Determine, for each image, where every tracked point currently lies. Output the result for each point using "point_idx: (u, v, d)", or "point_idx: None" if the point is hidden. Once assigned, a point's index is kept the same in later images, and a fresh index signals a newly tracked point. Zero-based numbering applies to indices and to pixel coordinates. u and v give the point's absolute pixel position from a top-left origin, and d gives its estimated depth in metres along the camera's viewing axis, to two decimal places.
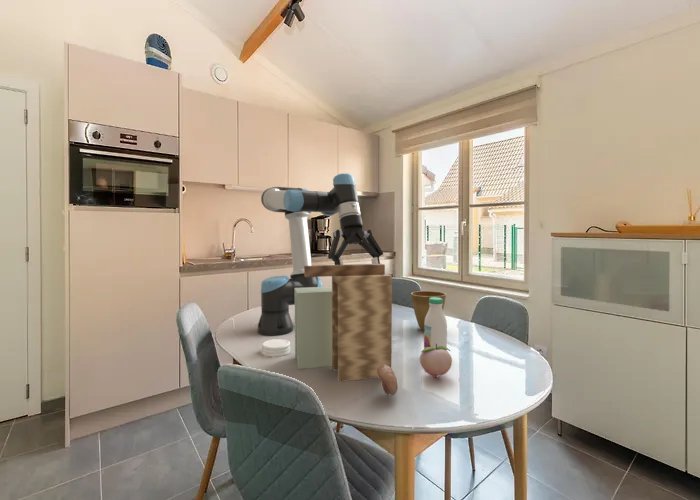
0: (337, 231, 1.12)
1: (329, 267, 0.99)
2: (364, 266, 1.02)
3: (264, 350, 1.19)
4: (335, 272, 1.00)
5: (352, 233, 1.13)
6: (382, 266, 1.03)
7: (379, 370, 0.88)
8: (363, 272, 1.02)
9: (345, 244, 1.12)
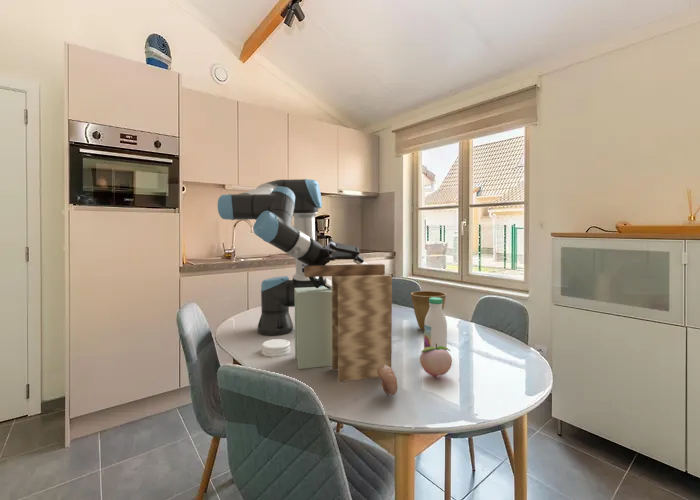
0: (303, 271, 1.06)
1: (329, 267, 0.99)
2: (364, 266, 1.02)
3: (264, 350, 1.19)
4: (335, 272, 1.00)
5: (316, 264, 1.03)
6: (382, 266, 1.03)
7: (379, 370, 0.88)
8: (363, 272, 1.02)
9: None
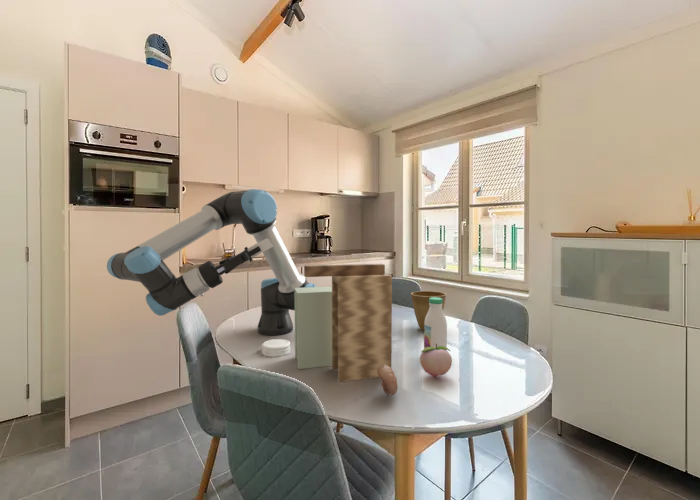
0: None
1: (329, 267, 0.99)
2: (364, 266, 1.02)
3: (264, 350, 1.19)
4: (335, 272, 1.00)
5: None
6: (382, 266, 1.03)
7: (379, 370, 0.88)
8: (363, 272, 1.02)
9: None
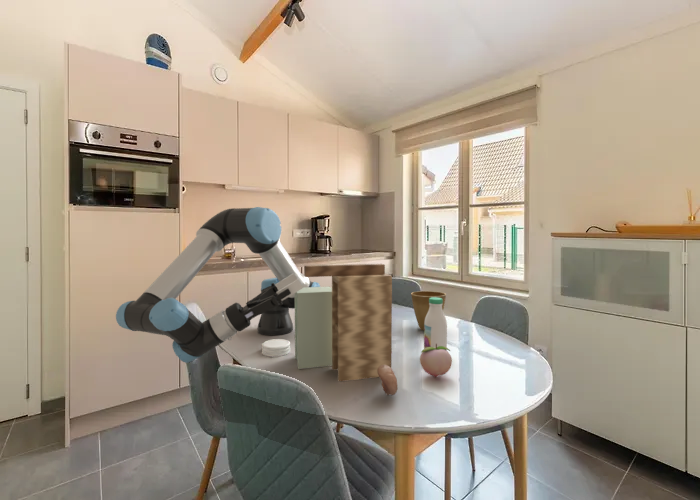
0: None
1: (329, 267, 0.99)
2: (364, 266, 1.02)
3: (264, 350, 1.19)
4: (335, 272, 1.00)
5: None
6: (382, 266, 1.03)
7: (379, 370, 0.88)
8: (363, 272, 1.02)
9: None
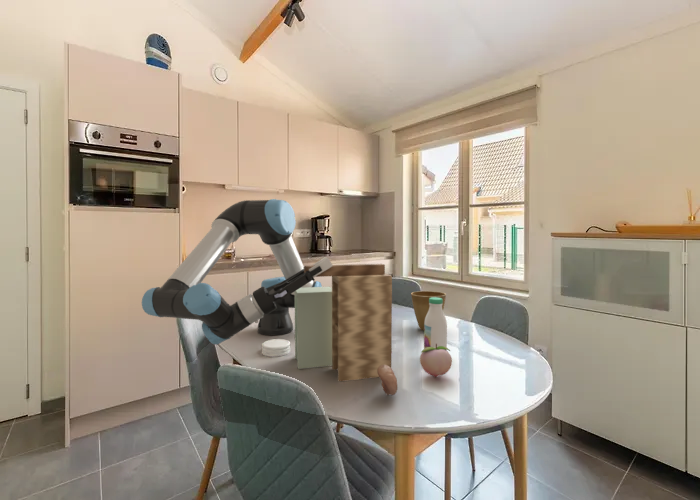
0: None
1: None
2: (364, 266, 1.02)
3: (264, 350, 1.19)
4: (335, 272, 1.00)
5: None
6: (382, 266, 1.03)
7: (379, 370, 0.88)
8: (363, 272, 1.02)
9: None
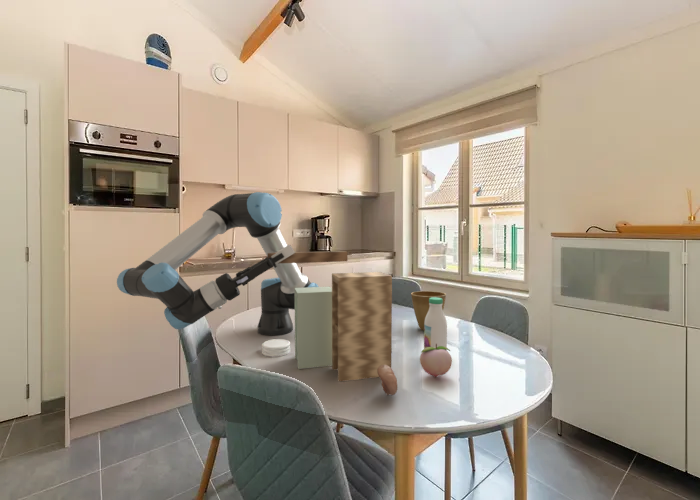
0: None
1: (292, 254, 1.02)
2: (327, 253, 1.04)
3: (264, 350, 1.19)
4: (298, 258, 1.02)
5: None
6: (345, 253, 1.06)
7: (379, 370, 0.88)
8: (326, 258, 1.04)
9: None
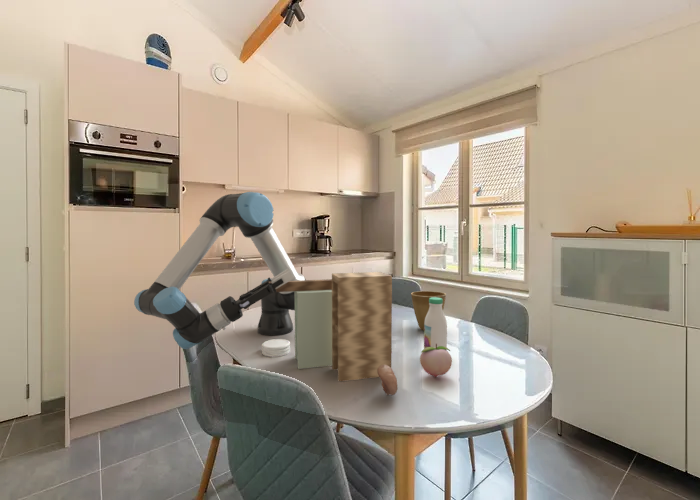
0: None
1: (291, 283, 1.09)
2: (324, 282, 1.11)
3: (264, 350, 1.19)
4: (297, 287, 1.09)
5: None
6: None
7: (379, 370, 0.88)
8: (323, 287, 1.11)
9: None
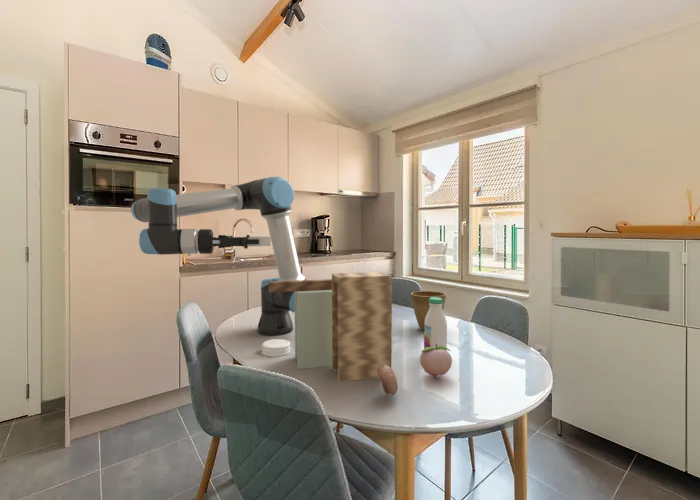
0: None
1: (291, 283, 1.09)
2: (324, 282, 1.11)
3: (264, 350, 1.19)
4: (297, 287, 1.09)
5: None
6: None
7: (379, 370, 0.88)
8: (323, 287, 1.11)
9: None
